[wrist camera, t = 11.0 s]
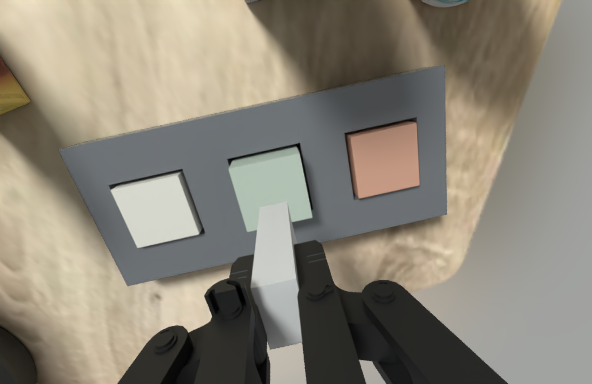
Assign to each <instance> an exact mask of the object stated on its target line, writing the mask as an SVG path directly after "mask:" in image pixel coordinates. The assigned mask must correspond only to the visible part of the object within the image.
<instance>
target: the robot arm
mask: <svg viewBox="0 0 592 384" xmlns="http://www.w3.org/2000/svg"><path fill="white" fill-rule="evenodd" d="M204 297H205V299H206V302H207V304H208V307H209V309H210V312H211V314H212V318H211V321H210V322H209V323H207V324H205V325H204V326H202V327H200V328H198V329H195V330H193V331H191V332H189V333H188V331H187V330H186V329H185V328H184V327H183V326H178V325H176V326H171V327H168V328H166V329H163V330H161V331H160V332H159V333H157V334H156V335H154V336H153V337H152V338H151V339H150V340H149V342H148V343H147V344H146V345H145V347H144V348H143V349H142V351H141V352H140V353H139V355H138V356H137V358H136V359H135V360H134V362H133V363H132V364H131V366H130V367H129V368H128V370H127V371H126V373H125V374H124V375H123V377H122V378H121V379H120V381H119V382H118V384H270V361H269V357H268V354H267V341H268V344H269V347H270V349H275V348H280V347H285V346H289V345H294V344H298V343H302V344H303V354H304V363H305V372H306V381H307V384H366V382H365V379H364V375H363V372H362V369H361V365H360V362H359V360H367V361H372V362H373V364H374V365H375V367H376V369H377V370H378V372H379V373H380V375H381V376H382V378H383V379H384V381H385V382H386V384H508V383H507V382H506V381H505V380H503V379H502V378H501V377H500V376H499V375H498V374H497V373H496V372H494V370H492V369H491V368H490V367H489V366H488V365H487V364H486V363H485V362H484V361H482V360H481V358H480V357H478V356H477V355H476V354H475V353H474V352H473V351H472V350H471V349H470V348H468V346H466V345H465V344H464V343H463V342H462V341H461V340H460V339H459V338H458V337H457V336H456V335H454V334H453V333H452V332H451V331H450V330H449V329H448V328H447V327H446V326H445V325H444V324H442V323H441V322H440V321H439V320H438V319H437V318H436V317H435V316H434V315H433V314H432V313H430V312H429V311H428V310H427V309H426V308H425V307H424V306H423V305H422V304H421V303H420V302H419V301H417V300H416V299H415V298H414V297H413V296H412V295H411V294H410V293H409V292H408V291H407V290H405V289H404V288H403V287H402V286H401V285H399V284H397V283H396V282H392V281H389V280H378V281H374V282H371V283H370V284H368V285H366V286H365V288H364V289H363V291H362V293H357V292H347V291H344V290H342V289H340V288H338V287H337V286H336V285H335V284H334V282H333V279H332V276H331V273H330V270H329V266H328V263H327V260H326V256H325V253H324V250H323V247H322V244H320V243H319V242H318V241H316V240H312V241H308V242H303V243H298V244H297V242H296V238H295V233H294V229H293V225H292V220H291V216H290V212H289V208H288V203H287V202H283V203H278V204H273V205H269V206H264V207H260V210H259V218H258V227H257V236H256V245H255V253H254V254H251V255H247V256H242V257H238V258H237V260H236V261H235V262H234V263H233V265H232V267H231V272H230V276H229V278H227V279H224V280H222V281H219V282H217V283H216V284H214V285H213V286H212V287H210V288H209V289H208V290H207V292H206V294H205V295H204ZM35 383H36V369H35V365H34V362H33V360H32V358H31V356H30V355H29V353H28V352H27V350H26V349H25V348H24V346H23V345H22V344H21V343H20V342H19V341H18V340H17V339H16V338H14V337H13V336H12V335H11V334H9V333H8V332H7V331H5V330H4V329H2V328H0V384H35Z"/></svg>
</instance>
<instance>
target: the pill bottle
mask: <svg viewBox="0 0 592 384" xmlns="http://www.w3.org/2000/svg"><path fill="white" fill-rule="evenodd" d="M421 1H423V2H424V3H426V4H429V5H431V6H435V7H453V6H457V5H460V4H463V3H465V2H467V1H470V0H421Z"/></svg>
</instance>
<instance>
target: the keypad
mask: <svg viewBox="0 0 592 384" xmlns="http://www.w3.org/2000/svg"><path fill="white" fill-rule="evenodd" d="M401 120H407V121H412V122H416V123H417V141H418V160H419V180H420V185H418V186H414V187H409V188H405V189H400V190H396V191H391V192H387V193H383V194H378V195H374V196H369V197H365V198H360V199H359V198H358V197H357V196H356V195H355V193H354V192H353V191H352V184H351V176H350V169H349V162H348V155H347V148H346V141H345V134H344V133H347V132H351V131H356V130H361V129H365V128H370V127H374V126H379V125H383V124H388V123H392V122H397V121H401ZM297 143H298V146H299V151H300V156H301V161H302V166H303V171H304V176H305V181H306V185H307V190H308V195H309V202H310V207H311V212H312V217H313V218H308V219H304V220H300V221H295V222H292V225H293V229H294V233H295V238H296V242H297V244H298V243H303V242H308V241H312V240H316V241H318V242H319V243H322V242H326V241H331V240H335V239H340V238H344V237H349V236H353V235H358V234H362V233H367V232H371V231H375V230H380V229H384V228H389V227H393V226H398V225H402V224H407V223H411V222H416V221H420V220H425V219H429V218H433V217H438V216H442V215H447V186H446V121H445V65H443V66H435V67H427V68H421V69H416V70H412V71H407V72H403V73H398V74H394V75H389V76H384V77H380V78H375V79H371V80H366V81H362V82H357V83H352V84H348V85H343V86H339V87H334V88H329V89H325V90H320V91H316V92H311V93H307V94H302V95H297V96H293V97H288V98H284V99H279V100H275V101H270V102H265V103H261V104H256V105H252V106H247V107H243V108H238V109H233V110H229V111H224V112H220V113H215V114H211V115H206V116H201V117H197V118H192V119H188V120H183V121H179V122H174V123H169V124H165V125H160V126H156V127H151V128H147V129H142V130H137V131H133V132H128V133H124V134H119V135H115V136H110V137H105V138H101V139H96V140H92V141H87V142H83V143H80V144H76V145H73V146H69V147H66V148H63V149H59V150H58V151H59V153H60V155H61V157H62V159H63V161H64V163H65V165H66V166H67V168H68V170H69V172H70V174H71V176H72V178H73V180H74V182H75V184H76V186H77V188H78V190H79V192H80V194H81V196H82V198H83V200H84V202H85V204H86V206H87V208H88V210H89V212H90V214H91V216H92V217H93V219H94V221H95V223H96V225H97V227H98V229H99V231H100V233H101V235H102V237H103V239H104V241H105V243H106V245H107V247H108V249H109V251H110V253H111V255H112V257H113V259H114V261H115V263H116V265H117V266H118V268H119V270H120V272H121V274H122V276H123V278H124V280H125V282H126V284H127V286H130V285H135V284H139V283H144V282H148V281H153V280H157V279H161V278H166V277H170V276H175V275H179V274H184V273H188V272H193V271H197V270H202V269H206V268H211V267H215V266H219V265H224V264H228V263H233V262H235V261H236V260H237V258H238V257H242V256H247V255H251V254H254V253H255V245H256V236H257V230H255V231H250V232H247V230H246V226H245V223H244V220H243V216H242V213H241V210H240V206H239V203H238V200H237V196H236V193H235V190H234V186H233V183H232V180H231V176H230V173H229V170H228V169H229V167H230V165H231V163H232V161H233V159H234V157H238V156H243V155H247V154H252V153H256V152H261V151H265V150H270V149H274V148H279V147H283V146H288V145H293V144H297ZM179 169H182V170H183V172H184V175H185V178H186V181H187V183H188V186H189V189H190V192H191V195H192V197H193V200H194V203H195V206H196V208H197V211H198V214H199V217H200V220H201V222H202V225H203V228H202V230H201V232H200V234H198V235H194V236H190V237H185V238H181V239H176V240H172V241H167V242H163V243H158V244H154V245H149V246H145V247H140V248H137V246H136V244H135V242H134V239H133V237H132V235H131V233H130V231H129V229H128V227H127V225H126V222H125V220H124V218H123V216H122V214H121V212H120V210H119V207H118V205H117V203H116V201H115V199H114V197H113V195H112V192H111V190H112V189H113V188H115V187H116V186H118V185H119V184H121V183H122V182H125V181H129V180H134V179H138V178H143V177H147V176H152V175H156V174H161V173H166V172H170V171H175V170H179Z"/></svg>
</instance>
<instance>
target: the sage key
mask: <svg viewBox="0 0 592 384" xmlns="http://www.w3.org/2000/svg"><path fill="white" fill-rule="evenodd" d="M228 170H229V173H230V176H231V180H232V183H233V186H234V190H235V193H236V196H237V200H238V203H239V206H240V210H241V213H242V216H243V220H244V223H245V226H246V230H247V232H250V231H255V230H257V227H258V218H259V210H260V207H264V206H269V205H273V204H278V203H283V202H287V203H288V208H289V212H290V216H291V220H292V222H295V221H300V220H304V219H308V218H313V217H312V212H311V207H310V202H309V197H308V192H307V188H306V183H305V178H304V173H303V168H302V163H301V158H300V153H299V151H298V149H297V147H296V144H295V145H290V146H286V147H281V148H277V149H272V150H268V151H263V152H259V153H254V154H249V155H245V156H240V157H236V158H234V159H233V161H232V163H231V165H230V167H229V169H228Z"/></svg>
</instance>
